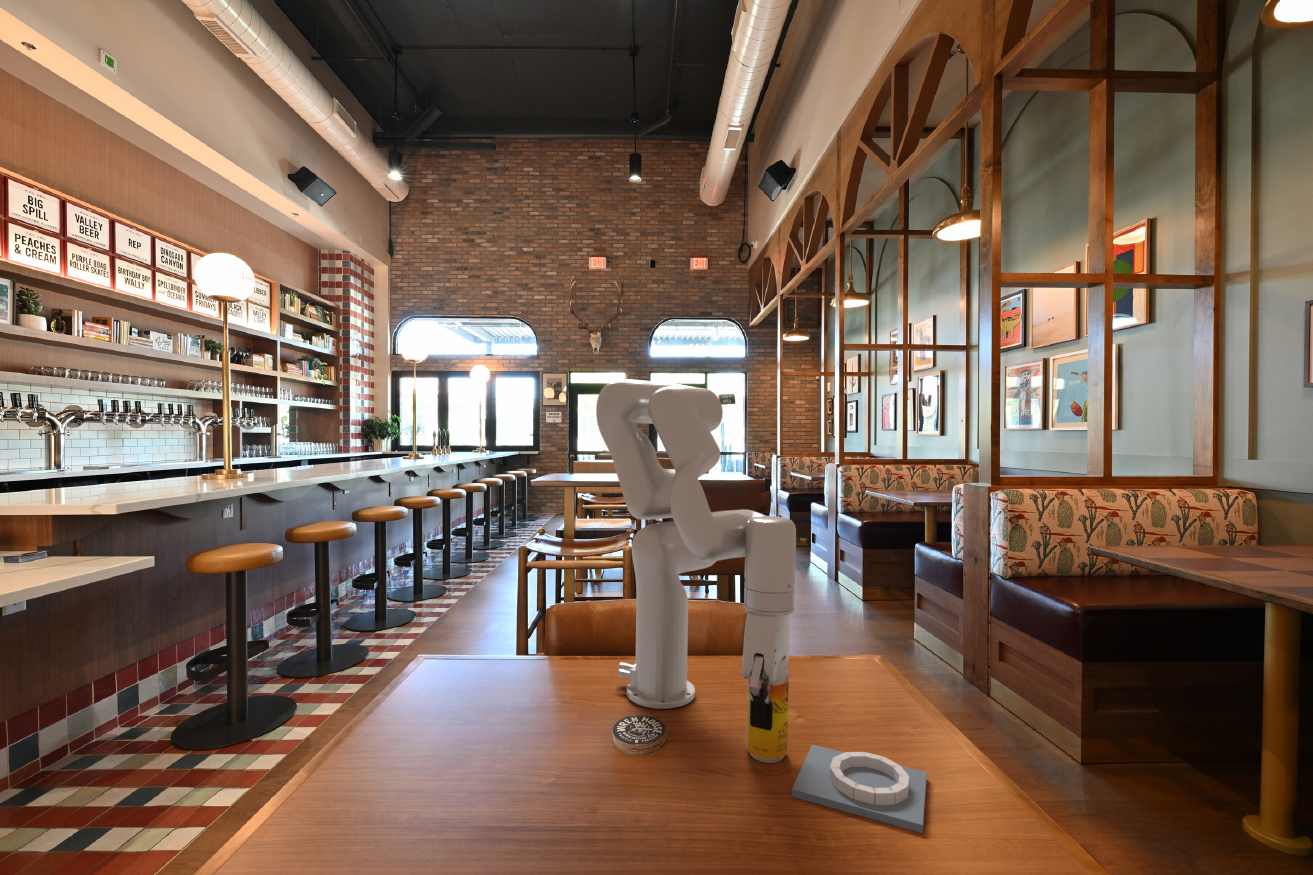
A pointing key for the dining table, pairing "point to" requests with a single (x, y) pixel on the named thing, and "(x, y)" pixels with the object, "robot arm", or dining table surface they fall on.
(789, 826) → the dining table surface
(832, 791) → the base board
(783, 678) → the beer can
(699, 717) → the dining table surface
